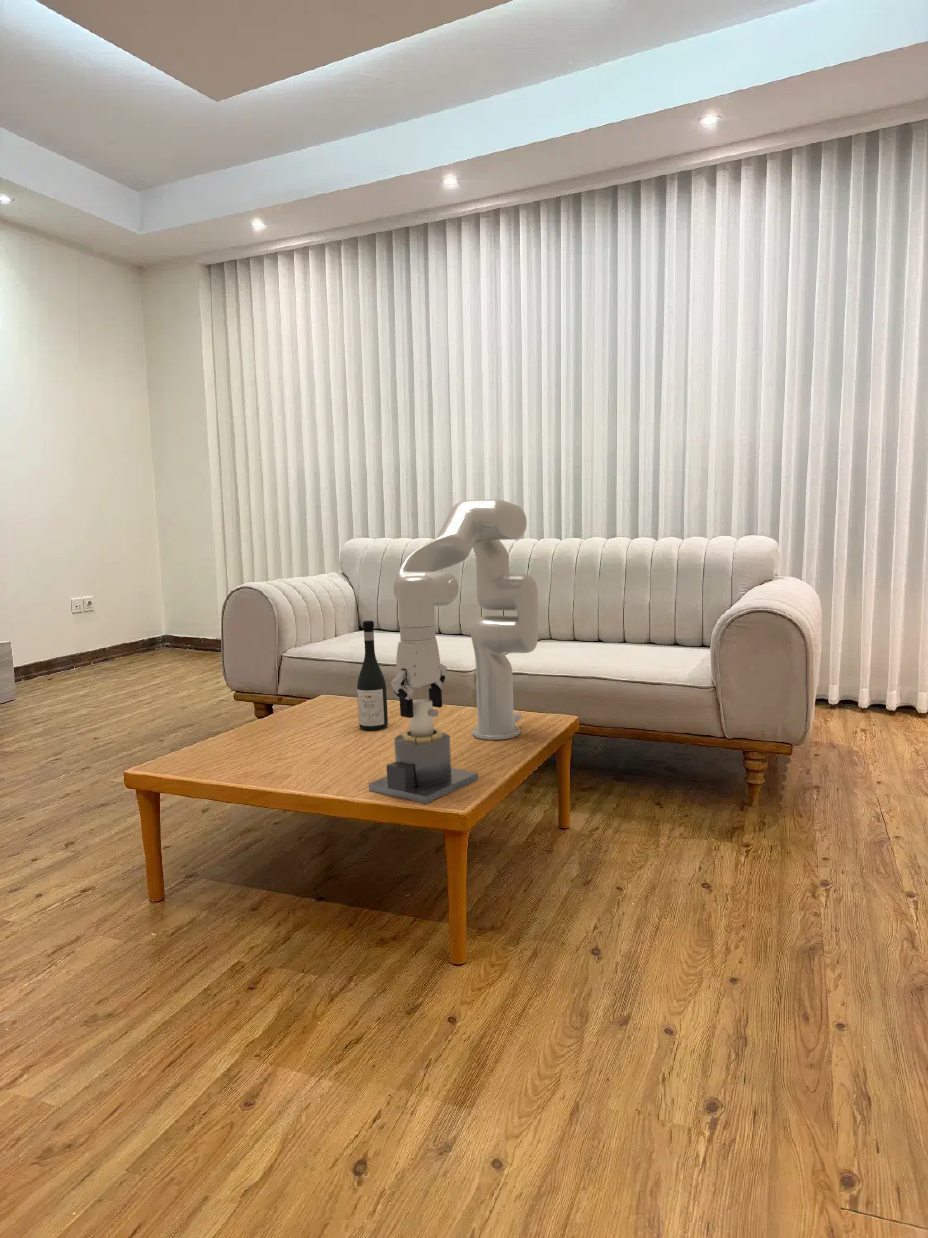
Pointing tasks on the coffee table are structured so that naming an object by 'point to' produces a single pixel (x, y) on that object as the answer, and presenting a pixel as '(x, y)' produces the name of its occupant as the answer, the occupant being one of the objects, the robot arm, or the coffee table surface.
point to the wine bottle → (371, 687)
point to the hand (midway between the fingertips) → (421, 711)
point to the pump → (422, 718)
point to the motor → (422, 769)
